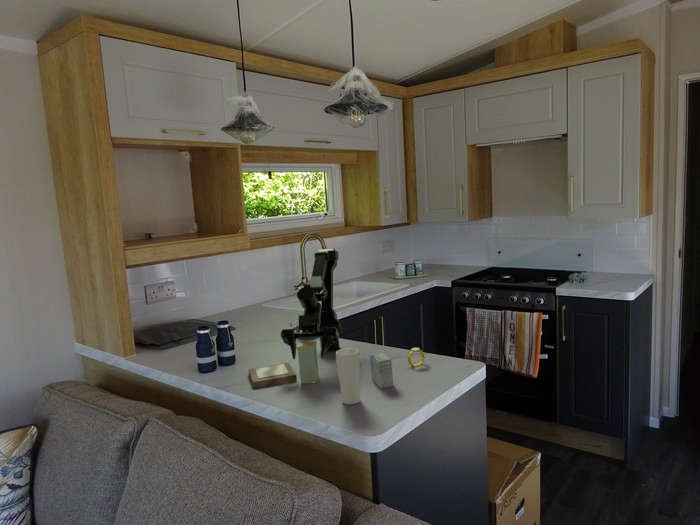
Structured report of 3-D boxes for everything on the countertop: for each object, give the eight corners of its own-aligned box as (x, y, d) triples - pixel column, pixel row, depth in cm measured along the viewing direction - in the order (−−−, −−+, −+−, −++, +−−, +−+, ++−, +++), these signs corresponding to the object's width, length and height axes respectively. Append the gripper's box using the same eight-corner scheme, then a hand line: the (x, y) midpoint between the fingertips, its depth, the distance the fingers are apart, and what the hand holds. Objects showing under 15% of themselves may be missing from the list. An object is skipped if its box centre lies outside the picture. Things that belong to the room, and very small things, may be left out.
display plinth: (288, 367, 187) (288, 361, 186) (296, 380, 173) (296, 373, 173) (249, 374, 183) (248, 368, 183) (253, 388, 170) (253, 381, 169)
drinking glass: (336, 405, 151) (331, 354, 149) (344, 396, 157) (340, 347, 155) (358, 407, 148) (354, 355, 146) (366, 397, 155) (362, 348, 153)
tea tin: (303, 377, 176) (300, 341, 174) (319, 377, 175) (316, 341, 173) (300, 383, 170) (296, 346, 169) (316, 383, 170) (313, 346, 168)
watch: (412, 369, 176) (410, 352, 175) (407, 367, 179) (405, 350, 178) (426, 364, 179) (424, 347, 178) (421, 362, 182) (419, 345, 181)
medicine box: (393, 386, 162) (392, 359, 161) (380, 389, 161) (378, 361, 159) (384, 378, 169) (383, 352, 168) (371, 380, 168) (369, 354, 167)
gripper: (279, 305, 176) (273, 347, 166) (334, 302, 173) (331, 345, 164) (287, 322, 184) (282, 363, 175) (340, 320, 182) (337, 362, 172)
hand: (307, 358), depth 171 cm, fingers open, 9 cm apart
